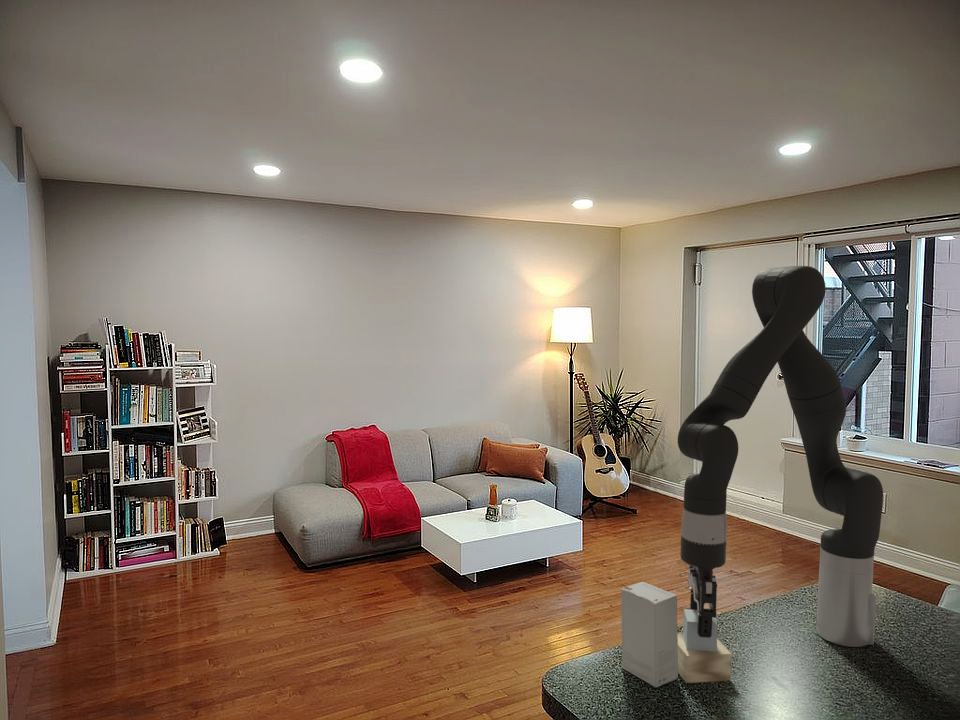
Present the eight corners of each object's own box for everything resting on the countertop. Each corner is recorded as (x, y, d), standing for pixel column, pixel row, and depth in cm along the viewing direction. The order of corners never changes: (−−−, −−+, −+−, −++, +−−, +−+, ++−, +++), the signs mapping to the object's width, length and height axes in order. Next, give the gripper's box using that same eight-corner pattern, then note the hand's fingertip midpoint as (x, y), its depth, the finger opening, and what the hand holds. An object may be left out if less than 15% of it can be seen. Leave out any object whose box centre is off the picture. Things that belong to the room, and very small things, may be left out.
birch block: (709, 658, 124) (710, 631, 124) (730, 681, 116) (731, 653, 116) (667, 660, 123) (668, 633, 123) (685, 684, 115) (686, 655, 115)
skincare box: (678, 679, 116) (681, 595, 115) (654, 690, 113) (657, 603, 112) (641, 658, 123) (644, 579, 122) (618, 667, 120) (620, 586, 119)
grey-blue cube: (711, 638, 121) (712, 611, 121) (716, 652, 116) (717, 623, 116) (682, 635, 122) (683, 609, 122) (686, 649, 117) (687, 621, 117)
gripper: (734, 550, 110) (730, 646, 111) (718, 523, 124) (714, 609, 125) (687, 547, 111) (683, 642, 113) (676, 521, 125) (673, 606, 127)
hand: (700, 625), depth 119 cm, fingers open, 8 cm apart
